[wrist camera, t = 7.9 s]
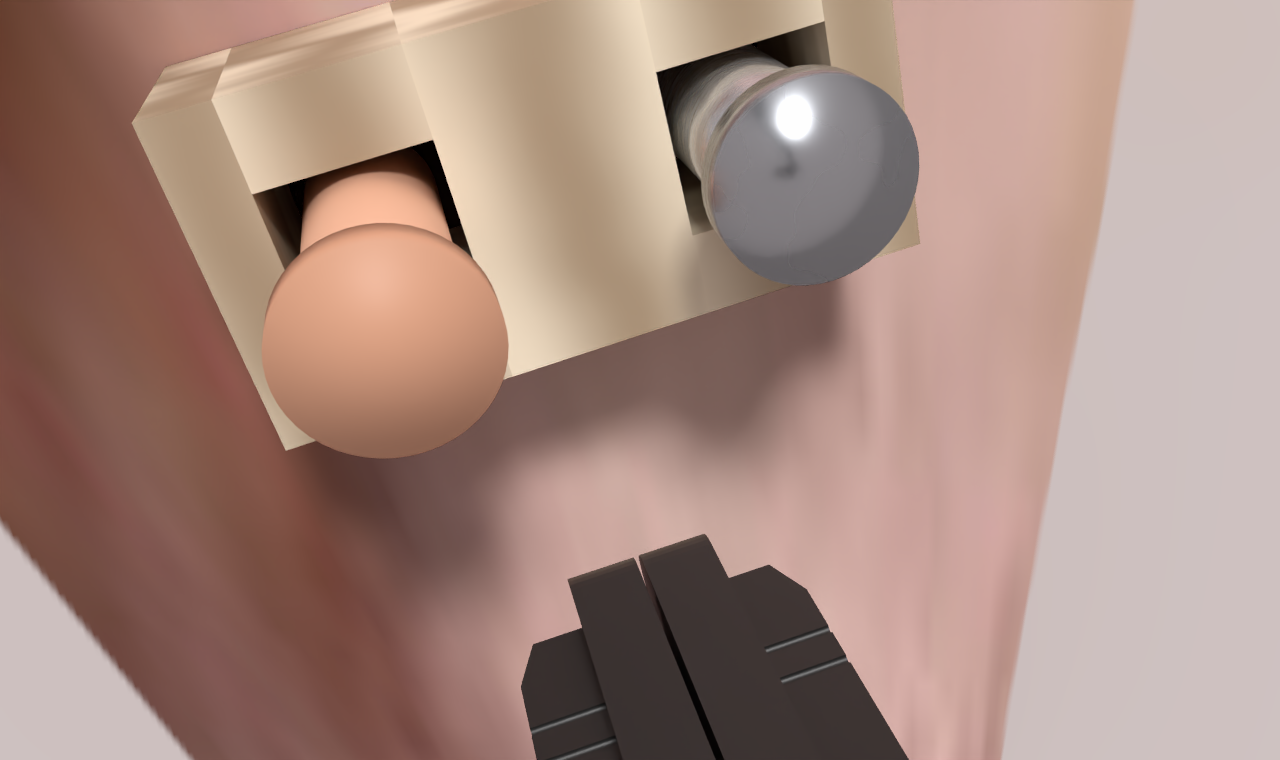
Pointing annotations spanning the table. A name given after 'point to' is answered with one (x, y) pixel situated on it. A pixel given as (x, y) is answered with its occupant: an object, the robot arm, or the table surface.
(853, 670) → the robot arm
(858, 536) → the table surface
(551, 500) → the table surface
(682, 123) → the steel plunger
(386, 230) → the terracotta plunger
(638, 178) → the beige rectangular block
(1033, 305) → the table surface
